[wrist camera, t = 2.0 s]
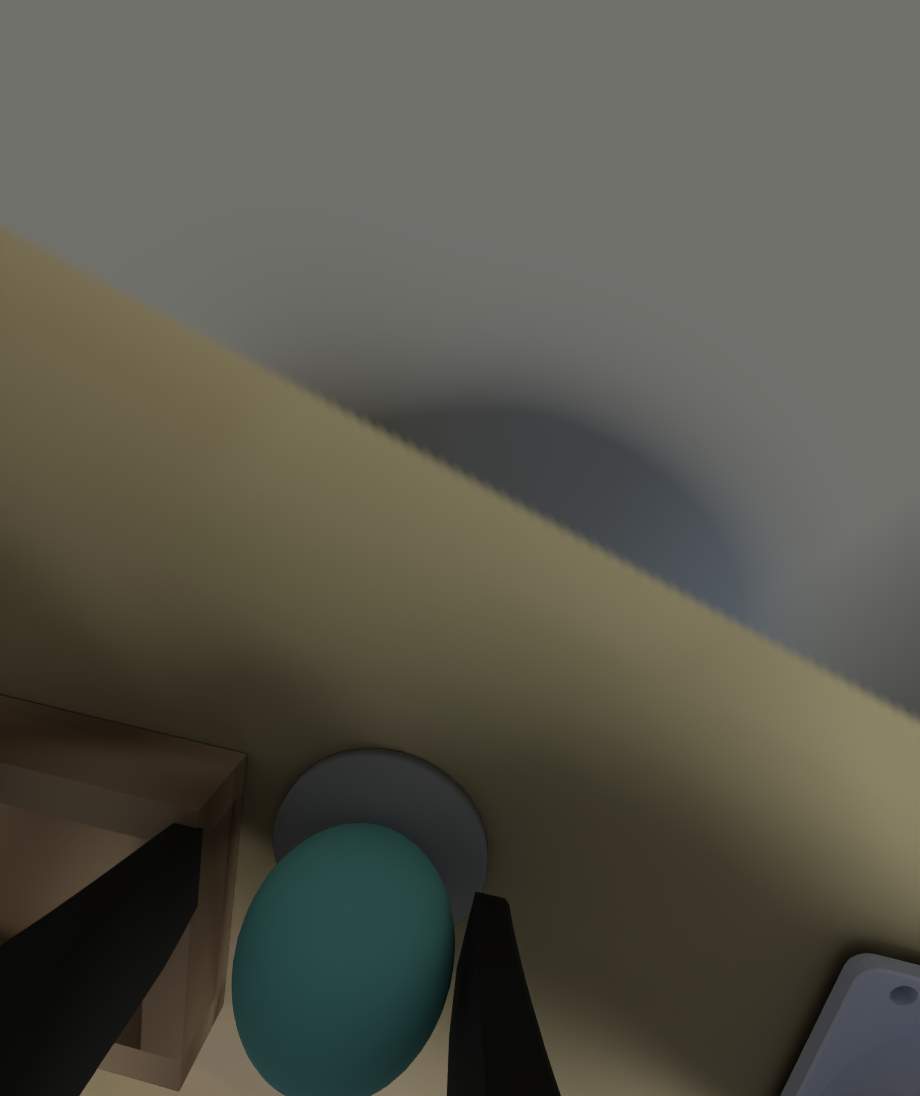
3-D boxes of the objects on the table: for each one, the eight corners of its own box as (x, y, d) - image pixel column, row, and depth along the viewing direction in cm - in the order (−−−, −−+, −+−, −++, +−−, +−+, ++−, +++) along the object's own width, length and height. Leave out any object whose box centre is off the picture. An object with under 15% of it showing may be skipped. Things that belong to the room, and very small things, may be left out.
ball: (479, 803, 10) (461, 1019, 7) (447, 944, 11) (414, 1205, 8) (303, 761, 11) (183, 944, 7) (285, 902, 12) (171, 1134, 8)
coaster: (507, 777, 11) (507, 790, 10) (465, 948, 12) (464, 966, 11) (292, 726, 11) (284, 737, 11) (271, 898, 12) (263, 913, 12)
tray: (246, 754, 11) (198, 811, 10) (223, 1005, 13) (179, 1091, 11) (-139, 661, 12) (-251, 699, 10) (-110, 914, 14) (-200, 983, 12)
